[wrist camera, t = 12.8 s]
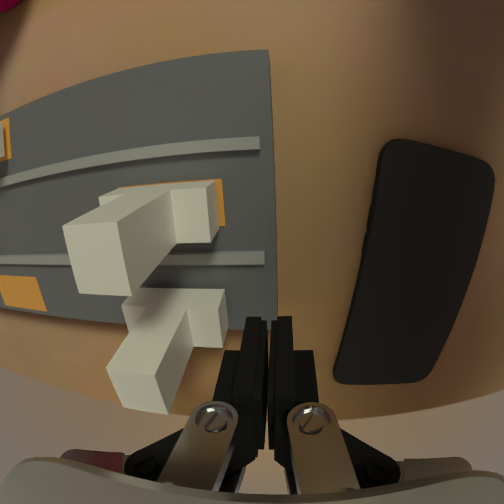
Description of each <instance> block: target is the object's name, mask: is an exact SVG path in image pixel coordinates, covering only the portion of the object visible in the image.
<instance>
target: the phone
mask: <svg viewBox="0 0 504 504" xmlns="http://www.w3.org/2000/svg"><path fill="white" fill-rule="evenodd" d="M494 185H495V178H494V173H493V170H492V168H491V167H490V165H489V164H487V163H486V162H484V161H482V160H479V159H477V158H474V157H470V156H467V155H464V154H461V153H457V152H454V151H450V150H447V149H443V148H439V147H436V146H432V145H428V144H424V143H420V142H415V141H411V140H405V139H394V140H391V141H389V142H387V143H386V144H385V145H384V146H383V147H382V149H381V151H380V154H379V157H378V163H377V170H376V177H375V184H374V190H373V198H372V204H371V206H370V211H369V217H368V222H367V233H366V234H365V238H364V244H363V249H362V258H361V263H360V268H359V272H358V277H357V281H356V286H355V290H354V294H353V298H352V302H351V306H350V310H349V314H348V318H347V322H346V326H345V329H344V333H343V336H342V340H341V344H340V347H339V351H338V354H337V357H336V361H335V364H334V368H333V373H334V378H335V380H336V381H337V382H339V383H342V384H349V385H370V384H400V383H413V382H418V381H420V380H422V379H424V378H425V377H426V376H427V375H428V374H429V373H430V372H431V370H432V369H433V367H434V365H435V363H436V361H437V359H438V357H439V355H440V353H441V351H442V349H443V347H444V345H445V342H446V340H447V338H448V336H449V333H450V331H451V329H452V327H453V324H454V322H455V319H456V317H457V315H458V312H459V310H460V307H461V304H462V302H463V299H464V297H465V294H466V291H467V288H468V285H469V283H470V280H471V277H472V274H473V271H474V268H475V264H476V261H477V258H478V254H479V251H480V248H481V244H482V240H483V237H484V233H485V229H486V225H487V221H488V216H489V212H490V207H491V202H492V197H493V192H494Z"/></svg>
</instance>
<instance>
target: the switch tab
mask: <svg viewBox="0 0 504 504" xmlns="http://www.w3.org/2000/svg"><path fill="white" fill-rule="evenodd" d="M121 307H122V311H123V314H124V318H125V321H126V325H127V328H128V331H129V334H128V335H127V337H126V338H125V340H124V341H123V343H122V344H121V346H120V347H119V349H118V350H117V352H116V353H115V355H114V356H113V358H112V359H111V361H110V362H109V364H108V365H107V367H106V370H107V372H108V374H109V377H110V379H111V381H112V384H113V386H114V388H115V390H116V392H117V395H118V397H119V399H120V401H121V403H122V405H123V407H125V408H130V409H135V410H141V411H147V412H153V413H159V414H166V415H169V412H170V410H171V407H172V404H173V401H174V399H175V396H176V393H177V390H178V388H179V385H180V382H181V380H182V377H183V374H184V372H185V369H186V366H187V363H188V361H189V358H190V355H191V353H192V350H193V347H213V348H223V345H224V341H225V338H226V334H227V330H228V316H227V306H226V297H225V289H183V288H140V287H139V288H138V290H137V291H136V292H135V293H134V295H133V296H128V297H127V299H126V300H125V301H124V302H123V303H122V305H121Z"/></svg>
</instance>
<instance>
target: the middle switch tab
mask: <svg viewBox="0 0 504 504" xmlns="http://www.w3.org/2000/svg"><path fill="white" fill-rule="evenodd" d="M99 204H100V207H98V208H96V209H94V210H92V211H90V212H88V213H86V214H84V215H82V216H80V217H78V218H76V219H74V220H72V221H70V222H68V223H66V224H65V225H63V226H62V227H63V232H64V237H65V241H66V246H67V250H68V254H69V258H70V262H71V266H72V270H73V274H74V277H75V281H76V284H77V288H78V291H79V293H81V294H97V295H115V296H133V295H134V293H135V292H136V291H137V290H138V288H139V287H140V286H141V285H142V284H143V282H144V281H145V280H146V279H147V278H148V276H149V275H150V274H151V273H152V272H153V270H154V269H155V268H156V267H157V266H158V265H159V263H160V262H161V261H162V260H163V259H164V257H165V256H166V255H167V254H168V253H169V252H170V251H171V249H172V248H173V247H174V246H175V245H176V244H177V243H211V241H212V240H213V238H214V236H215V235H216V233H217V231H218V230H219V219H218V207H217V194H216V180H212V181H196V182H182V183H170V184H158V185H147V186H137V187H127V188H118V189H116V190H113V191H111V192H109V193H106V194H104V195H102V196H99Z"/></svg>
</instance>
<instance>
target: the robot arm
mask: <svg viewBox="0 0 504 504" xmlns="http://www.w3.org/2000/svg"><path fill="white" fill-rule="evenodd" d="M267 408H268V435H269V436H268V437H269V438H268V439H269V449H270V450H275V451H274V453H275V454H274V456H275V457H274V460H275V461H276V462H278V463H279V464H280V465H281V466H283V467H284V468H285V471H284V472H285V477H286V483H287V489H288V495H265V494H241V493H238V492H239V489H240V486H241V482H242V479H243V476H244V473H245V469H246V465H247V464H249V463H251V462H252V461H253V460H255V457H257V456H258V449H264V443H265V429H266V414H267ZM0 504H504V476H503V475H500V474H498V473H495V472H490V471H481V470H472V468H471V465H470V463H469V462H468V461H467V460H465V459H463V458H461V457H447V458H429V459H428V458H427V459H404V461H403V462H402V461H395V460H393V459H392V458H391V457H389V456H387V455H385V454H383V453H381V452H380V451H378V450H376V449H375V448H373V447H371V446H369V445H368V444H366V443H364V442H362V441H361V440H359V439H357V438H356V437H354V436H352V435H350V434H349V433H347V432H346V431H344V430H342V429H341V428H340V427H339V424H338V421H337V418H336V415H335V414H334V412H333V410H331V409H330V408H329V407H328V406H326V405H324V404H322V403H319V398H318V389H317V380H316V371H315V363H314V355H313V350H295V351H293V332H292V316H277V320H271V338H270V356H269V366H268V335H267V320H262V319H261V317H246V321H245V327H244V333H243V338H242V344H241V349H240V351H236V350H225V352H224V355H223V359H222V363H221V368H220V372H219V376H218V380H217V384H216V388H215V392H214V396H213V400H212V401H211V402H206V403H203V404H201V405H199V406H198V407H197V408H195V409H194V411H193V412H192V413H191V415H190V417H189V419H188V421H187V423H186V425H185V427H184V428H183V429H181V430H179V431H177V432H175V433H173V434H171V435H169V436H167V437H165V438H163V439H161V440H159V441H157V442H155V443H153V444H151V445H149V446H147V447H145V448H143V449H140V450H138V451H136V452H135V453H133V454H131V455H125V454H124V453H120V452H103V451H90V450H80V449H72V450H68V451H66V452H65V453H63V454H62V455H61V457H60V458H55V457H33V458H28V459H25V460H22V461H20V462H19V463H18V464H17V465H16V466H14V467H13V468H12V469H11V471H10V472H9V473H8V474H7V476H6V477H5V478H4V480H3V481H2V483H1V484H0Z"/></svg>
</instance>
